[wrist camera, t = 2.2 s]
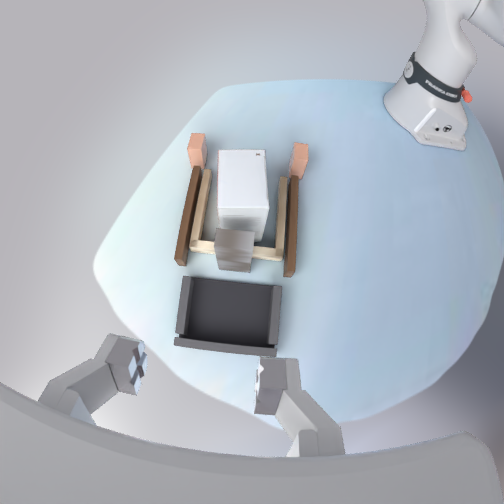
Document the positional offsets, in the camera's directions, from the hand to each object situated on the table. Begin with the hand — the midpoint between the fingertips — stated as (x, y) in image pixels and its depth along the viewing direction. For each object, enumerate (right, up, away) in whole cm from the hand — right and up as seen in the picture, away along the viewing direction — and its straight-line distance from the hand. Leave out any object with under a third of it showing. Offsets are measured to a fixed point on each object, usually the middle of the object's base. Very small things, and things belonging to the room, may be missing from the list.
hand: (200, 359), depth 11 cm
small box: (0, +9, +30) cm, 32 cm away
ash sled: (0, +9, +30) cm, 31 cm away
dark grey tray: (-1, -4, +25) cm, 26 cm away
